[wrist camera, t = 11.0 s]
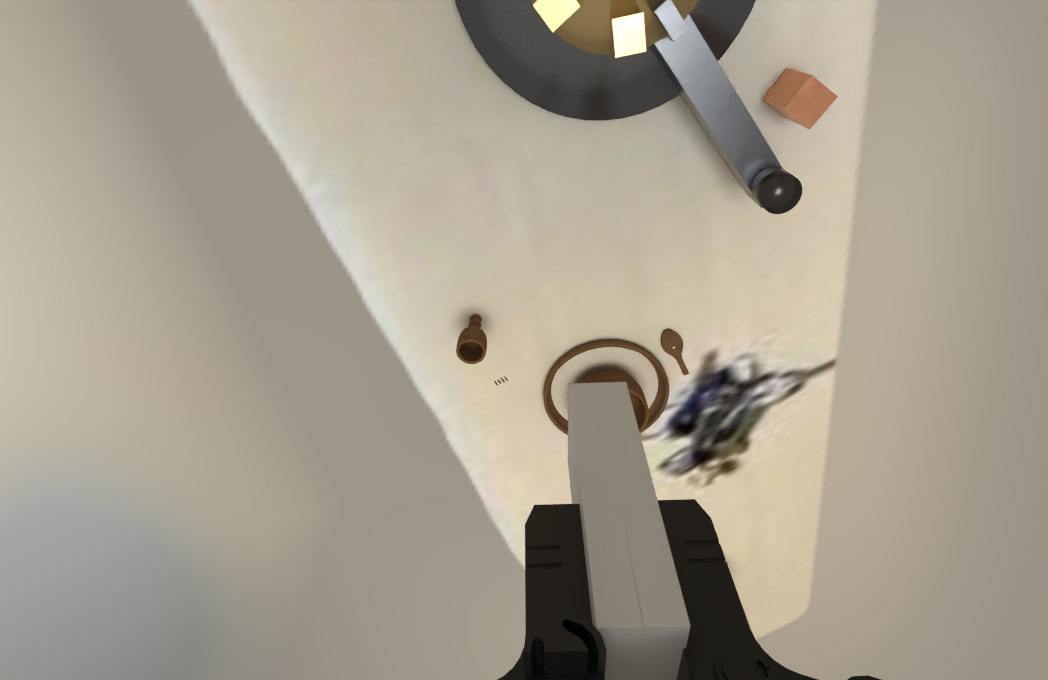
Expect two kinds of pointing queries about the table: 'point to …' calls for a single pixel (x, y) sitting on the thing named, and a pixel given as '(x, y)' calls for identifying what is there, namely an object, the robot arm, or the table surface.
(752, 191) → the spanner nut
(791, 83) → the base
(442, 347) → the table surface
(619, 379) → the place setting
